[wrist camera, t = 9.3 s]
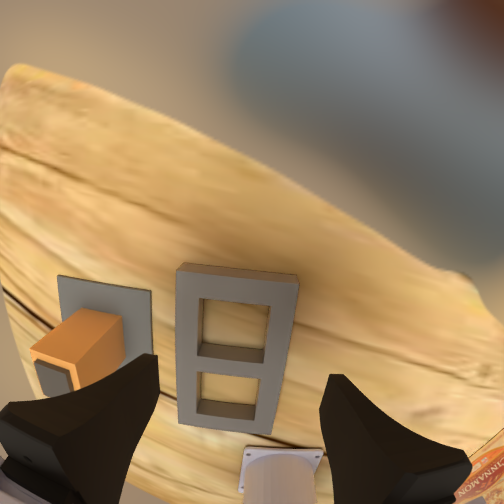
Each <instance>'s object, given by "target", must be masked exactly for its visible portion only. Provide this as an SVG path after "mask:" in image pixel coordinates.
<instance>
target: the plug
mask: <svg viewBox="0 0 504 504" xmlns="http://www.w3.org/2000/svg"><path fill="white" fill-rule="evenodd" d="M29 349H30V353H31V356H32V360H33V364H34V367H35V371H36V374H37V377H38V380H39V384H40V387H41V390H42V393H43V395H46V396H48V397H55V396H59V395H63V394H66V393H69V392H73V391H76V390H78V389H81V388H83V387H86V386H88V385H90V384H93V383H95V382H97V381H99V380H100V379H102V378H104V377H106V376H108V375H110V374H112V373H113V372H115V371H116V370H117V369H118V367H119V366H120V365H121V363H122V362H123V360H124V359H125V358H126V355H125V345H124V335H123V323H122V316H120V315H115V314H110V313H105V312H100V311H95V310H91V309H86V308H80V309H79V310H78V311H76V312H75V313H74V314H72V315H71V316H70V317H69V318H67V319H66V320H65V321H63V322H62V323H61V324H60V325H58V326H57V327H56V328H54V329H53V330H52V331H51V332H49V333H48V334H47V335H46V336H44V337H43V338H42V339H41V340H39V341H38V342H37V343H36V344H34V345H33V346H32V347H31V348H29Z"/></svg>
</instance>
